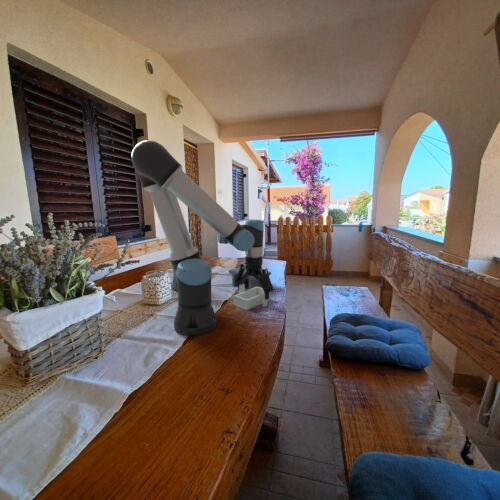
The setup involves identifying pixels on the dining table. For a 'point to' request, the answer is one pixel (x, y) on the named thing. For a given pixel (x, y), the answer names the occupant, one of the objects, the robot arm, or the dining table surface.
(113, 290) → the dining table surface
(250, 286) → the grey drawer cabinet
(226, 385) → the dining table surface
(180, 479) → the dining table surface
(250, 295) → the pale green open box
